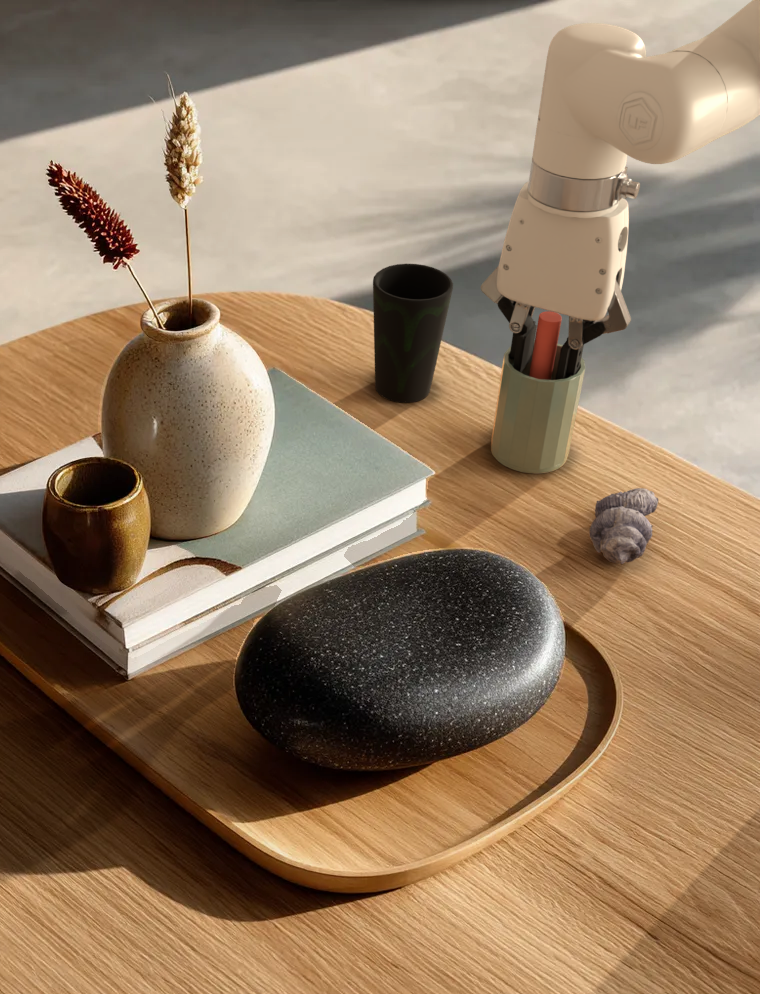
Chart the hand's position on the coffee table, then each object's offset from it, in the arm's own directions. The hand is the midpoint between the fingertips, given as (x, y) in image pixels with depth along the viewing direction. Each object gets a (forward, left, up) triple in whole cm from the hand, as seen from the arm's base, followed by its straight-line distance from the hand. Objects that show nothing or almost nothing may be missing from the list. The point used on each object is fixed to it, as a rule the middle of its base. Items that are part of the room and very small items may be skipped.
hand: (542, 371), depth 121 cm
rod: (0, 0, -8) cm, 8 cm away
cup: (+15, -4, -9) cm, 18 cm away
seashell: (-12, +9, -9) cm, 18 cm away
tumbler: (0, 0, -9) cm, 9 cm away
